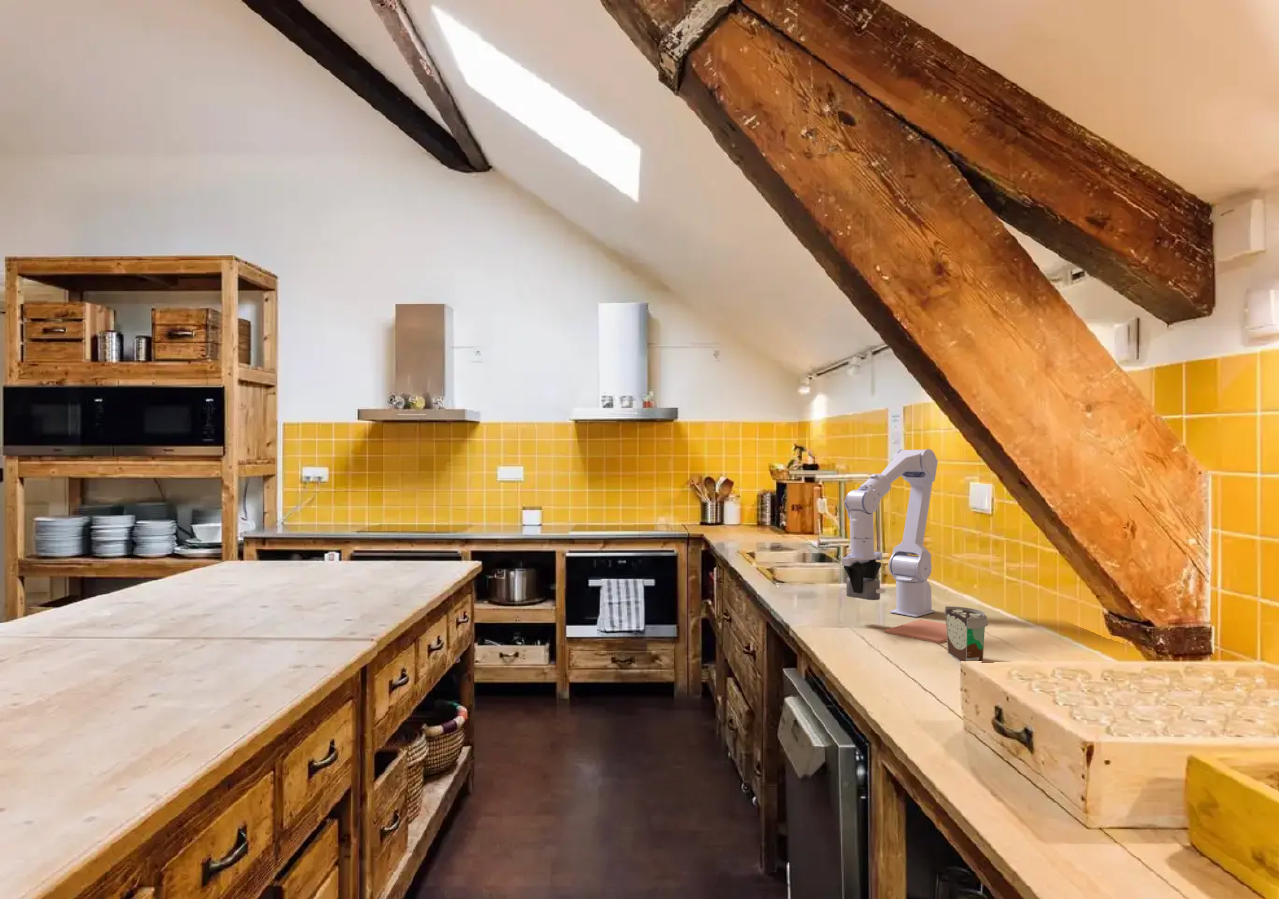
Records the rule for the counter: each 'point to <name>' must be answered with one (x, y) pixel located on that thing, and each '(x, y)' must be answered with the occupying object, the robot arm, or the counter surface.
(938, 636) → the mat
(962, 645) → the food container
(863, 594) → the plug
